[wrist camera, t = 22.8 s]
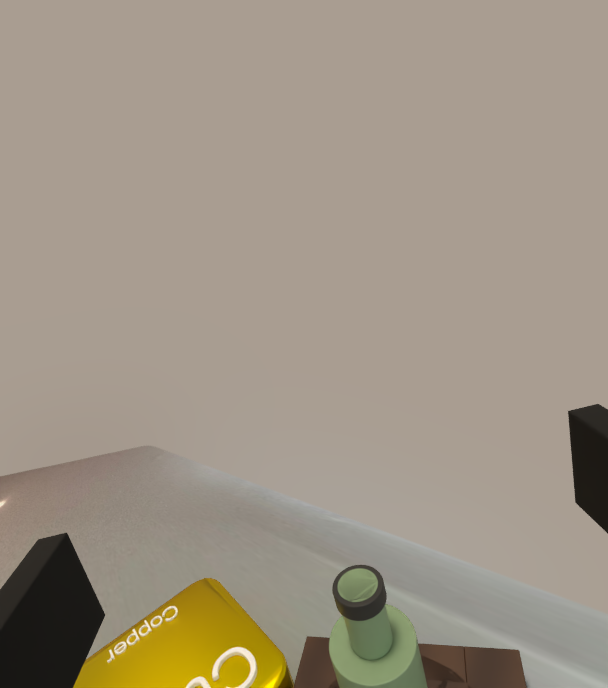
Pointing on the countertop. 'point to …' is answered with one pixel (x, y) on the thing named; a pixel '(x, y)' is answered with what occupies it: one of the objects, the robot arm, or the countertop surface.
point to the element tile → (190, 648)
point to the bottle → (372, 636)
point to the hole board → (426, 666)
